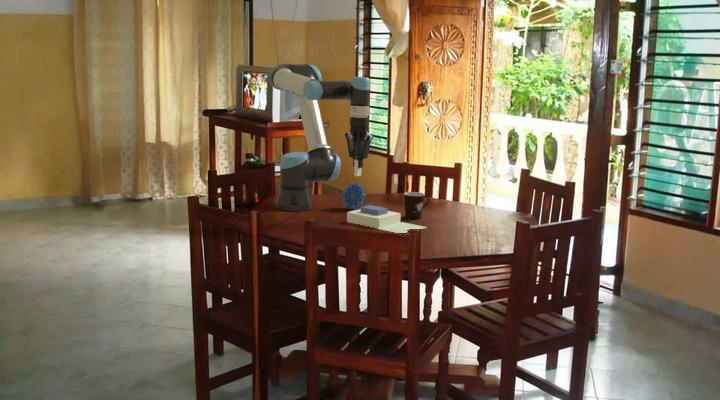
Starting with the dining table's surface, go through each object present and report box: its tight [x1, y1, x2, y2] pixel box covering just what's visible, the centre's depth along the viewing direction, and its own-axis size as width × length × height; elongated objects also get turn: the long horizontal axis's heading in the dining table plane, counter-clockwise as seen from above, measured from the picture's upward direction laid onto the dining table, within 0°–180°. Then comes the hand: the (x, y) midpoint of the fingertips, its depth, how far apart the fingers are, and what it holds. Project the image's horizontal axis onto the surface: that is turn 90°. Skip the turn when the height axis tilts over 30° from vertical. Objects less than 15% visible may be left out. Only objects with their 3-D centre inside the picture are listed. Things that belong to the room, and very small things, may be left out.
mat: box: [377, 221, 428, 234], centre depth 298 cm, size 12×16×1 cm
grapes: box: [342, 182, 366, 211], centre depth 329 cm, size 12×7×12 cm, turn 53°
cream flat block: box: [346, 208, 402, 230], centre depth 306 cm, size 16×14×4 cm
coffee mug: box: [403, 191, 430, 221], centre depth 316 cm, size 12×9×10 cm
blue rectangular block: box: [360, 204, 389, 216], centre depth 305 cm, size 9×6×2 cm, turn 51°
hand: (357, 175), depth 308 cm, fingers closed
